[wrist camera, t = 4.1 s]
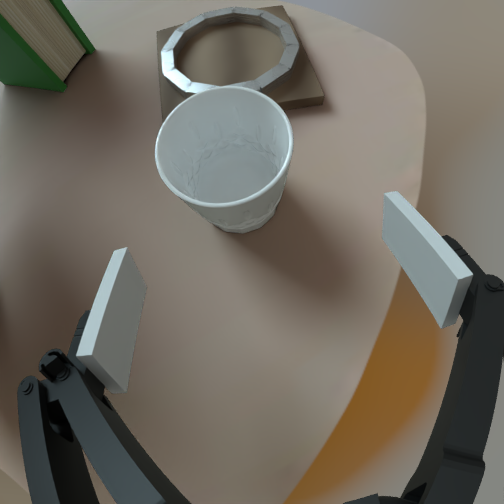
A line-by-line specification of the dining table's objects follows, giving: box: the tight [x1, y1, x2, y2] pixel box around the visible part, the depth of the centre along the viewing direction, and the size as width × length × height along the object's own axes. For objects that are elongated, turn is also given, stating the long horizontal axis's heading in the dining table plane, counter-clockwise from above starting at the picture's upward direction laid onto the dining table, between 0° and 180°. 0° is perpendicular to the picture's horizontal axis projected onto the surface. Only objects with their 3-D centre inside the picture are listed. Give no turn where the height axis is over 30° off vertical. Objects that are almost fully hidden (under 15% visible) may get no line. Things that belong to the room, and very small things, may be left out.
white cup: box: [155, 86, 294, 233], centre depth 22 cm, size 8×8×10 cm
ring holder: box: [157, 6, 324, 123], centre depth 27 cm, size 15×15×3 cm
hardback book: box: [0, 0, 95, 92], centre depth 20 cm, size 18×7×24 cm, turn 66°
